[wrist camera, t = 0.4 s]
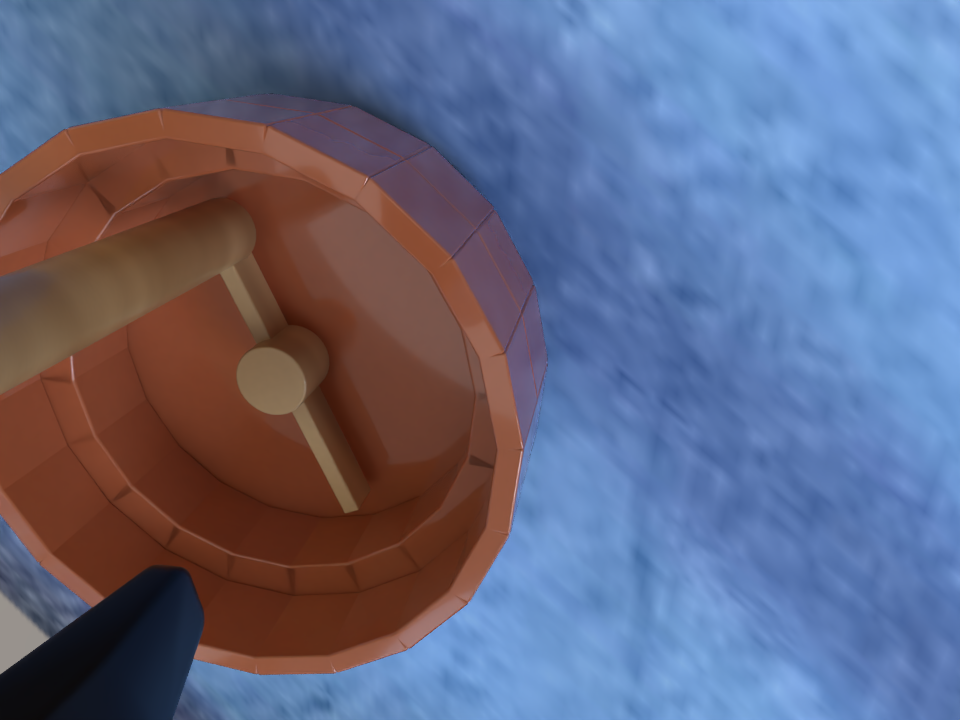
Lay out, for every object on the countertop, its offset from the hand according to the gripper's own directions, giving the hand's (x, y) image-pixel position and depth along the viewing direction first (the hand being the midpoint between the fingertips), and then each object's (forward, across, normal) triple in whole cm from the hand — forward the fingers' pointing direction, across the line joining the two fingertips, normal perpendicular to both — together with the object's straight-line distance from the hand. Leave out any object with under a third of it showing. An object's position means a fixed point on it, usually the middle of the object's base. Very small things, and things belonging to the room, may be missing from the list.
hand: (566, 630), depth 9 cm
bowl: (+13, +9, +5) cm, 17 cm away
